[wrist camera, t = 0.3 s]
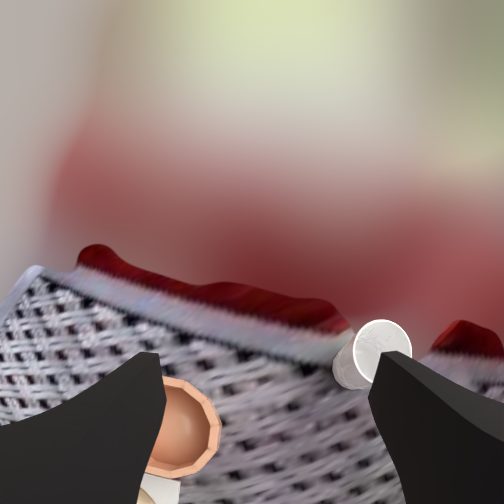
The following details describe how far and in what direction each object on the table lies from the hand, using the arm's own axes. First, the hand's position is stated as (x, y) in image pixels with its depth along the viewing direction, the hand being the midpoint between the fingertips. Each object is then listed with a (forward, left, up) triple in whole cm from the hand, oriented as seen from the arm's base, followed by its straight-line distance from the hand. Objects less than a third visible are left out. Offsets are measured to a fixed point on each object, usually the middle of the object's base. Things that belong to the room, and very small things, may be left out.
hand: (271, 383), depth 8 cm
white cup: (+6, -14, -31) cm, 34 cm away
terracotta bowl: (-5, +10, -30) cm, 32 cm away
